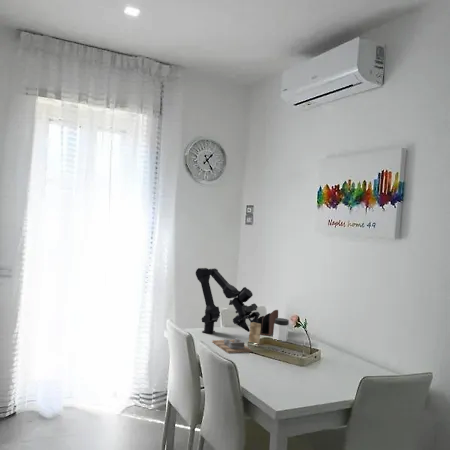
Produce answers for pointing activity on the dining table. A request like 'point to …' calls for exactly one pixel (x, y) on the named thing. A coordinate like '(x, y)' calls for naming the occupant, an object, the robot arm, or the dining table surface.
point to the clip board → (232, 345)
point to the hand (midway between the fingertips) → (254, 330)
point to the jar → (281, 329)
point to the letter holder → (268, 323)
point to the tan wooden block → (254, 332)
